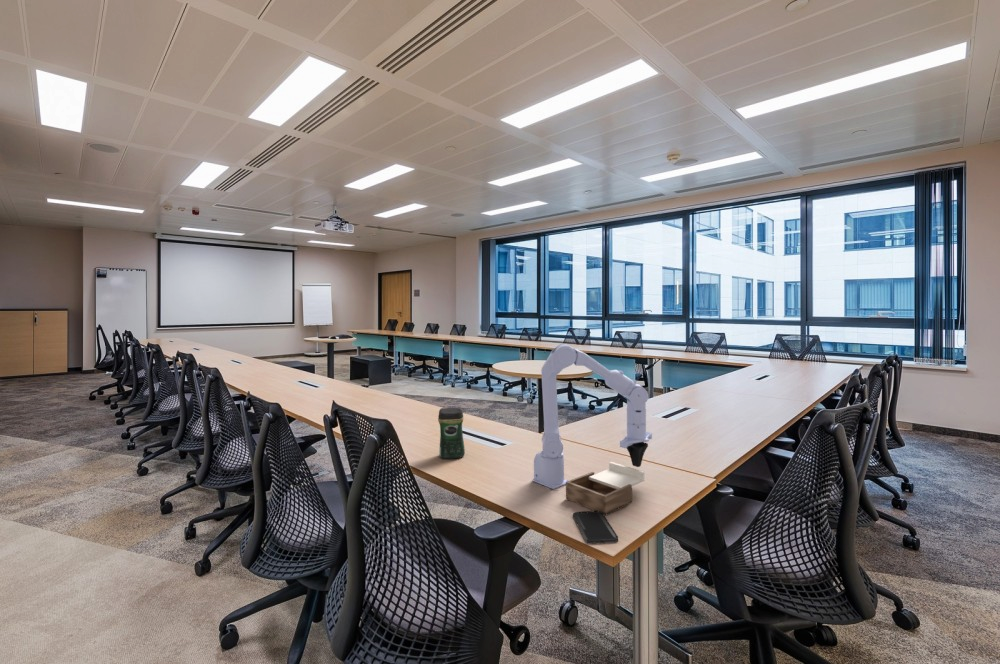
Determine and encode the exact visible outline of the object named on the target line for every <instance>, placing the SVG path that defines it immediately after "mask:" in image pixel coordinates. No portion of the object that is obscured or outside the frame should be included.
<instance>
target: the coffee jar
mask: <svg viewBox="0 0 1000 664" xmlns="http://www.w3.org/2000/svg"><path fill="white" fill-rule="evenodd" d="M437 416H438V418H437V421H438V423H439V428H440V429H439V437H440V438H439V458H441V459H443V460H444V459H446V460H448V459H449V460H451V459H461V458H462V457H463V458H464V456H465V454H466V453H465V451H466V450H465V449H466V448H465V443H464V442H465V441H464V435H463V434H464V433H463V422H464V412H463V409H462V407H443V408H440V409H439V411H438V415H437Z"/></svg>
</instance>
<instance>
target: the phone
mask: <svg viewBox="0 0 1000 664" xmlns="http://www.w3.org/2000/svg"><path fill="white" fill-rule="evenodd" d="M572 514H573V515H572V516H573V519H574V522H575V523H576V525H577V527H578V529H579V531H580V533H581V535H582V537H583V539H584V541H585V543H587V544H589V545H590V544H592V545H595V544H596V545H597V544H610V543H611V544H612V543H615V544H616V543H618V542H619V536H618V534H617V533H616V531H615V530H614V529H613V527H612V525H611V524H610V522H609V521H608V519H607V518H606V515H604V514H603V513H602V512H601V511H594V510H586V511H585V510H584V511H583V510H582V511H575V512H573V513H572Z"/></svg>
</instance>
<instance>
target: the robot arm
mask: <svg viewBox="0 0 1000 664" xmlns="http://www.w3.org/2000/svg"><path fill="white" fill-rule="evenodd" d="M549 353H550V354H549V355H548V357H547V358H546V360H545V362H544V364H542V367H541V370H540V371H541V388H542V409H543V429H544V430H543V434H542V436H541V443H542V451H538V452H537V453H536V454H535V455H534V458H533V478H532V479H531V480H532V481H533V482H535V483H538V484H539V485H542V486H544V487H547V488H549V489H553V490H554V489H557V488H560V487H561V486H566V482H567V481H569V480H568V479H566V478H565V462H564V461H565V456H564V455H565V453H564V452H563V451H564V445H563V442H562V437H561V435H560V429H559V428H560V427H559V411H558V392H557V391H558V389H557V375H559V374H560V373H561V372H562V371H563V370H565V369H567V368H569V367H570V366H572V365H575V366H576V367H577V366H583V367H586V368H587V369H589V370H590V371H592V372H593V373H594V374H596V375H598V376H600V377H601V378H603V379H604V383H605V385H606V386H607V387H609V388H610V389H612V391H614V392H616V393H618V394H619V395H621V396H622V397H625V398H626V436H624V438H623V439H621V440H619V448H622V449H627V453H628V454H629V456H630V457H629V458H630V460H631V464H632V466H633V467H636V468H640V467H641V465H642V462H643V459H644V454H645V452H646V450H647V449H648V447H649V444H648V443H649V442H650V440H653V433H652V432H648V431H647V409H646V407H647V406H646V403H647V402H648V400H649V395H648V391H647V390H646V388H645V387H643V386H642V385H641V384H639V383H637V380H635V379H631V378H629V377H628V376H627V375H625V374H624V373H625V372H624V371H622V370H621V369H619V370H618V369H611V370H610V369H608V368H607V367H605V366H604V365H603V364H601V363H599V362H598V361H597V360H596V359H594V358H593V357H591V356H589V355H588V354H587V353H585V352H584V351H582V350H579V349H577V348H575V347H572V346H571V345H569V344H568V343H561V344H558V345H557V346H555V347H554V348H553V349H552V350H551V351H550V352H549Z"/></svg>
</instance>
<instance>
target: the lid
mask: <svg viewBox="0 0 1000 664" xmlns="http://www.w3.org/2000/svg"><path fill="white" fill-rule="evenodd" d="M589 480H592V481H595V482H598V483H600V484H603V485H606V486H609V487H612V488H615V489H620V488H622V487H624V486H626V485H628V484H631V485H632V487H634V486H636V485H639V484H641V483H643V482H645V471H643V470H640V469H637V468H634V467H630V466H627V465H623V464H620V463H617V462H613V461H609V463H608V469H605V470H602V471H600V472H597V473H594V475H592V476H590V477H589Z"/></svg>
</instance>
